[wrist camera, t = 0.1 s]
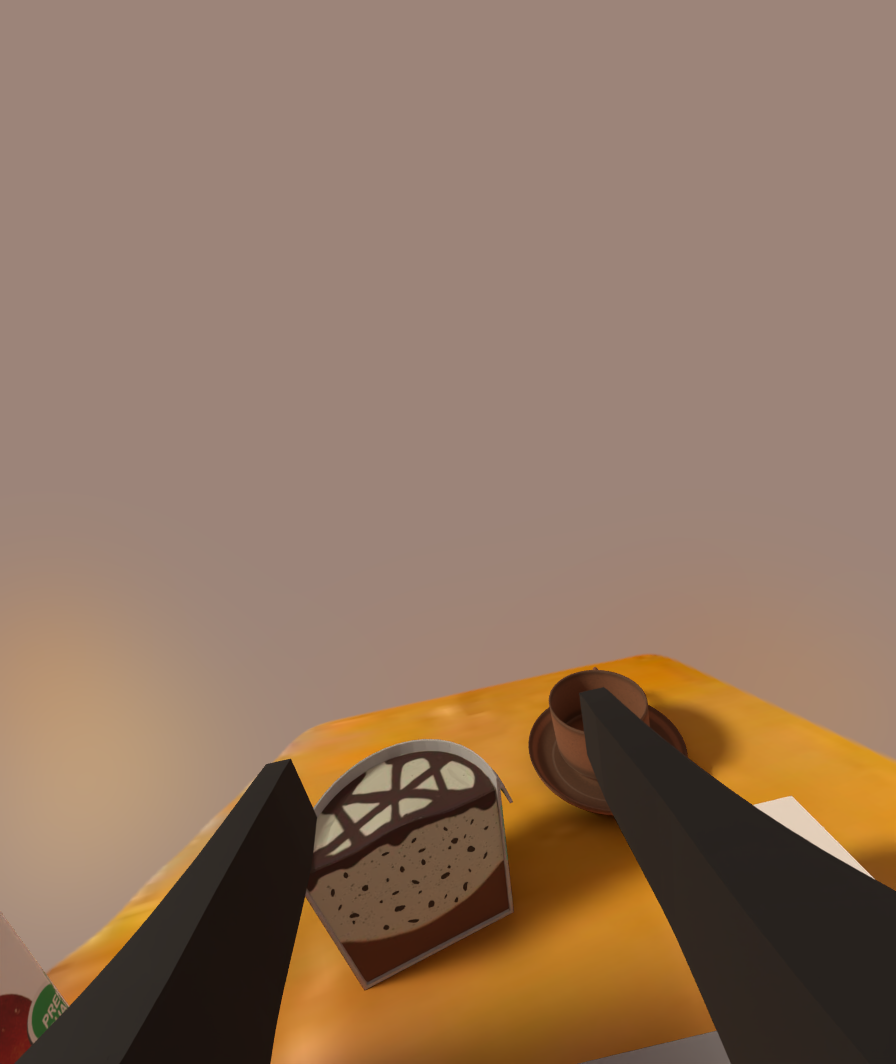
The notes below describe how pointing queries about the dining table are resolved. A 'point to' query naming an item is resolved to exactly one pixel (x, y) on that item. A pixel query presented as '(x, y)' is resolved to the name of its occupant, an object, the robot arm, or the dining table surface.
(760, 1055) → the robot arm
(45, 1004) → the juice carton
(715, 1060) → the charcoal base block
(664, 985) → the dining table surface
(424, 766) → the food container
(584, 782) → the cup and saucer
